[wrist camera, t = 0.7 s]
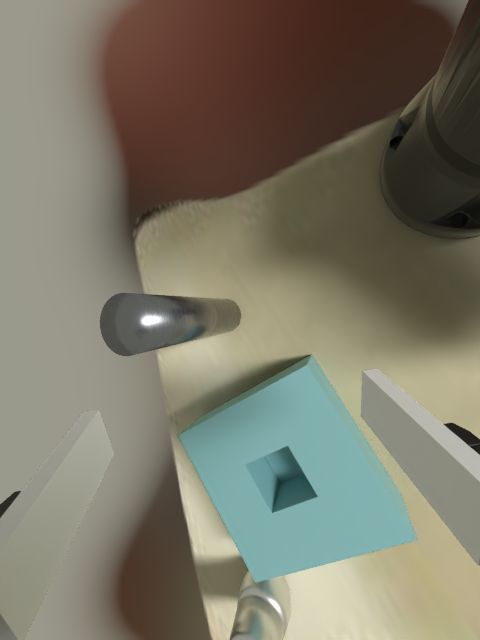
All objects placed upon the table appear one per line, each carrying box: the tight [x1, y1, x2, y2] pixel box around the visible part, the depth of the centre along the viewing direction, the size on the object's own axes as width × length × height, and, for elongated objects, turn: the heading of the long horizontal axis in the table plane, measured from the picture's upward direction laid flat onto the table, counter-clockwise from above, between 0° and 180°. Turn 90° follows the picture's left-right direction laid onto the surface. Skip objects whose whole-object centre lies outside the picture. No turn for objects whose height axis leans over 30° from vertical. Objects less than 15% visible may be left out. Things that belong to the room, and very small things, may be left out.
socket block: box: [178, 355, 417, 583], centre depth 30 cm, size 18×18×6 cm
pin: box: [100, 293, 241, 356], centre depth 27 cm, size 4×4×18 cm
